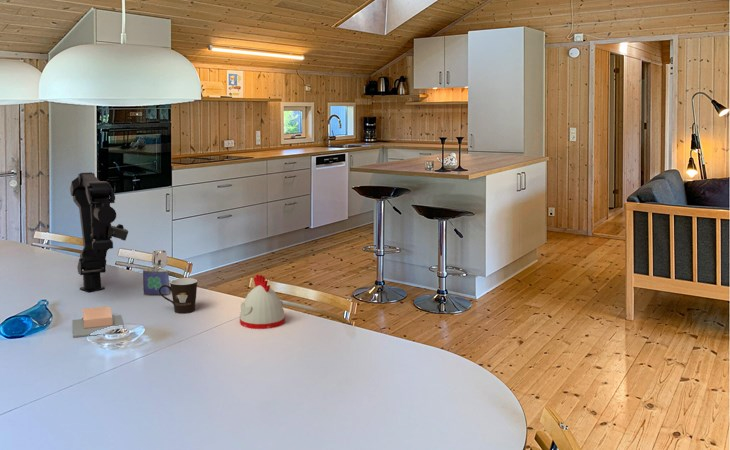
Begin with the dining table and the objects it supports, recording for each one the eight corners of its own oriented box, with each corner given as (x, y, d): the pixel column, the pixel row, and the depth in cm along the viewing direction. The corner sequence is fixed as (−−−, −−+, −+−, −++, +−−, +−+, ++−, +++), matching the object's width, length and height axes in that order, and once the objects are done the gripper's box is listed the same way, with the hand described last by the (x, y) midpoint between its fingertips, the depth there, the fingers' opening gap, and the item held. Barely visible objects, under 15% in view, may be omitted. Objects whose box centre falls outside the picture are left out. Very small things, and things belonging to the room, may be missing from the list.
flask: (170, 293, 230) (169, 264, 229) (167, 296, 228) (166, 266, 226) (145, 293, 231) (143, 264, 229) (141, 295, 228) (140, 266, 226)
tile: (82, 309, 200) (83, 320, 190) (109, 306, 204) (112, 317, 193) (82, 317, 201) (83, 328, 190) (110, 314, 204) (112, 325, 194)
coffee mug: (203, 308, 214) (202, 279, 212) (188, 316, 206) (187, 285, 204) (173, 304, 217) (172, 276, 216) (157, 311, 209) (156, 282, 208)
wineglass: (154, 284, 242) (152, 253, 240) (151, 281, 247) (150, 250, 245) (169, 283, 244) (168, 252, 242) (166, 279, 249) (165, 249, 247)
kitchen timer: (269, 312, 211) (268, 268, 208) (293, 323, 201) (293, 276, 198) (231, 320, 202) (230, 274, 199) (254, 332, 192) (254, 283, 189)
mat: (72, 321, 198) (72, 319, 198) (120, 316, 204) (120, 314, 204) (73, 337, 184) (72, 336, 184) (124, 331, 190) (124, 330, 190)
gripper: (128, 222, 209) (130, 269, 212) (123, 214, 226) (125, 257, 228) (91, 224, 204) (94, 272, 207) (89, 215, 221) (91, 260, 224)
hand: (102, 265), depth 217 cm, fingers closed
